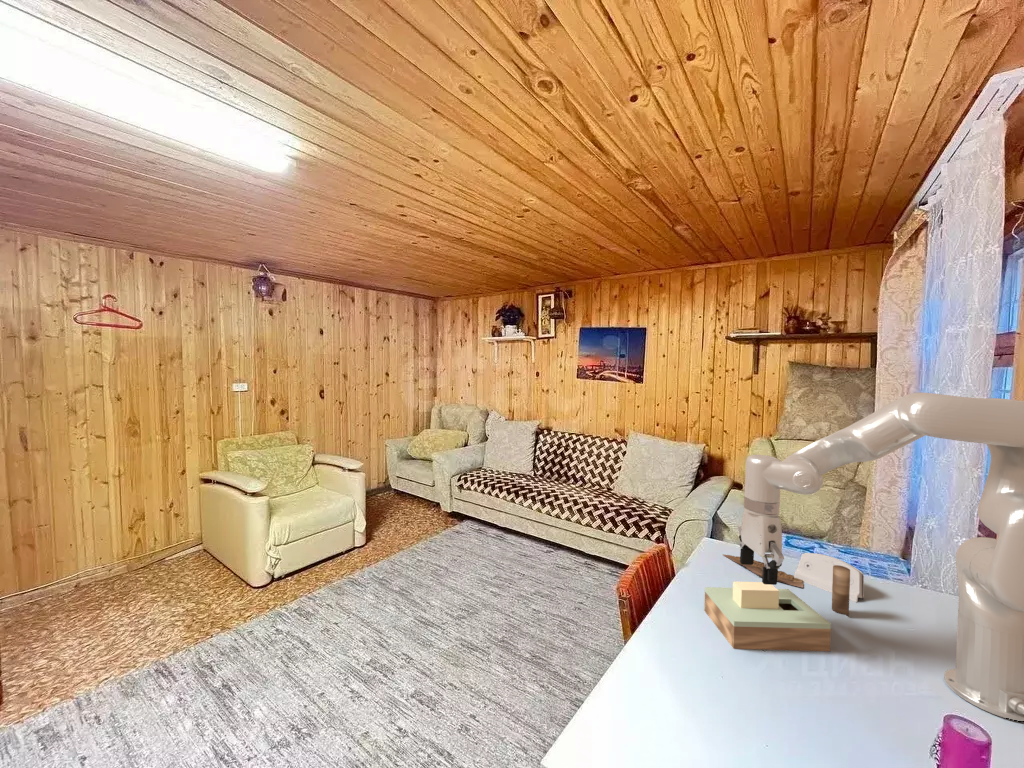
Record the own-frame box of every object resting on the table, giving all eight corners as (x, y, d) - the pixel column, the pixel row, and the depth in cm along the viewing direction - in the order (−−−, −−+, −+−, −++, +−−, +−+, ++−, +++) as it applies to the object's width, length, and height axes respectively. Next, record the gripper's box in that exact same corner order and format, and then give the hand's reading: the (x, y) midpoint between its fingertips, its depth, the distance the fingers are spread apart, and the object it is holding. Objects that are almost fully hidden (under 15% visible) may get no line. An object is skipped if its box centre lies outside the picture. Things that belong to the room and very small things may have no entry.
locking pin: (852, 617, 108) (853, 571, 108) (838, 617, 108) (840, 571, 108) (841, 609, 112) (843, 565, 111) (828, 609, 112) (829, 565, 111)
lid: (830, 628, 93) (831, 604, 93) (734, 626, 94) (734, 602, 94) (788, 593, 108) (788, 572, 108) (704, 591, 109) (705, 570, 109)
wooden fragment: (814, 585, 125) (814, 582, 125) (793, 594, 120) (793, 590, 120) (735, 552, 148) (735, 549, 148) (715, 558, 143) (715, 555, 143)
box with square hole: (830, 654, 94) (830, 628, 93) (733, 651, 94) (734, 626, 94) (787, 615, 109) (788, 593, 108) (704, 613, 109) (704, 591, 109)
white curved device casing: (792, 577, 129) (798, 546, 131) (798, 578, 132) (804, 547, 133) (858, 603, 115) (863, 567, 116) (864, 604, 117) (869, 569, 119)
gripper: (800, 519, 92) (796, 593, 93) (756, 495, 109) (752, 557, 110) (767, 518, 92) (762, 592, 93) (728, 494, 109) (724, 556, 110)
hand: (757, 573), depth 101 cm, fingers open, 9 cm apart
